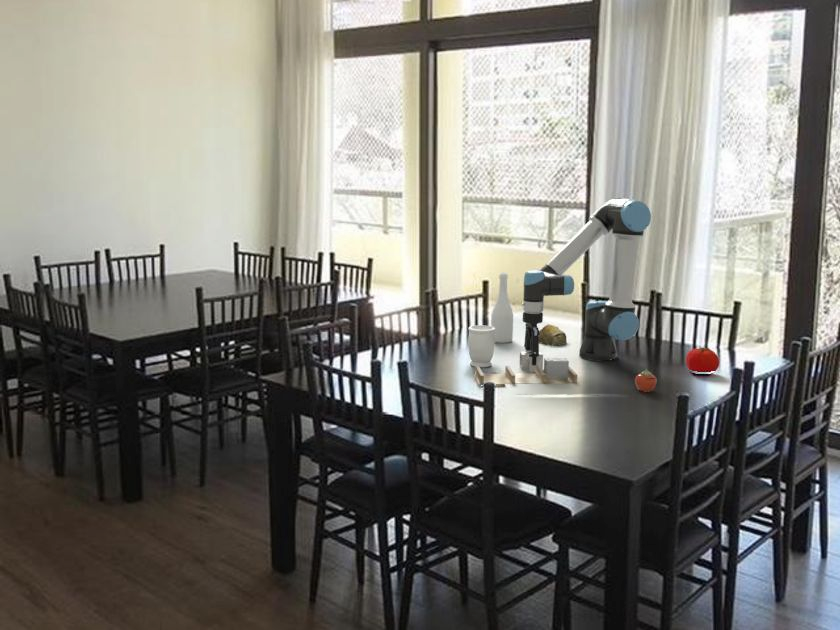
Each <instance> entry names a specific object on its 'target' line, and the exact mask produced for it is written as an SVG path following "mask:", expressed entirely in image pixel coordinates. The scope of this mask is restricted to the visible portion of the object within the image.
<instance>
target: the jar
mask: <svg viewBox="0 0 840 630" xmlns="http://www.w3.org/2000/svg"><path fill="white" fill-rule="evenodd" d="M468 331H469V333H468V338H467V346H468V347H467V348H468V354H469V355H468V356H469V359H470V360H471V362H470V366H472V367H474V368H476V366H479V367H480V368H489V367H491V366H492V362H491V361H492V359H493V356H494V351H495V346H496V342H495V336H494V331H495V328H494V327H492V326H491V325H484V324H483V325H481V324H480V325H479V324H478V325H477V324H476V325H471V326H469V327H468Z"/></svg>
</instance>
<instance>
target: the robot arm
mask: <svg viewBox="0 0 840 630" xmlns="http://www.w3.org/2000/svg"><path fill="white" fill-rule="evenodd" d="M651 218H652V214H651V210H650V208H649V206H648V205H647V204H646V203H645V202H643V201H641V200H638V199H635V198H632V199H630V198H622V197H616V198H612V199H609V200H607V201H605V203H603V205H600V207H598V208H597V210H596V211H595V210H594V212H593V213H592V214H591V215H590V216H589V217H588V221H587V223H585V225H584V226H583V227H581V229H579V231H577V233H575V234H574V236H572V238H571V239H570V240H569V241H568V242H566V244H565V245H564V246H563V247H562V248H560V250H558V251H557V253H555V254H554V255H553V257H552V258H551V259H550V260H549V261H547V263H545V265H543V267H541V268H540V269H539V268H538V269H535V270H527V271H525V273H524V275H523V277H524V278H523V298H522V299H523V302H522V303H521V306H522V310H523V312H522V323H525V333H524V334H525V335H524V350H525V351H524V352H531V355H529V357H530V369H529V370H528V371H529V372H530V373H531V372H532V373H535V366H537V357H538V356H539V352H540V342H539V331H540V329H539V327H538V324H541V323H543V319H544V318H543V317H544V314H543V311H544V303H545V301H544V297H547V296H551V297H552V296H569V295H572V294H573V292H574V289H575V281H574V278H573V277H572V276H571V275H569V274H568V275H566V274H565V273H566V272H567V270H568V269H570V268H571V267H572V266H573V264H575V263H576V262H577V261H578V260H579V259H580V257H582V256H583V255H584V254H585V253H586V252H587V251H588V250H589V249H590V248H591V247H592V246H593V245H594V243H596V242H597V241H598V240H599V239H600V238H601V237H602V236H604V235H608V234H609V232H612V235H613V236H614V238H615V244H614V251H613V263H612V272H611V280H610V282H611V283H610V291H609V299H608V300H594V301H592V300H591V301H588V302H587V303H586V305H585V320H584V321H585V322H584V339H583V341H582V343H581V346H580V348H579V353H578V354H579V357H580V358H581V359H584V358H585V360H589V359H591V360H590V361H596V360H609V361H611V360H610V359H614V358H616V357H617V358H618V351H617V346H616V343H615V340H617V341H628V340H630V339H632V338H633V336H635V335H636V333H637V332H638V329H639V327H640V321H639V320H640V319H639V318H638V316H637V314H635V313H636V305H635V304H634V303H633V294H634V287H635V285H634V284H635V276H636V266H637V257H638V248H639V241H640V239H641V238H643V237H644V231H645V230H646V229H647V228H648V227H649V225H650V224H651V220H652V219H651ZM617 358H616V359H617ZM614 360H615V359H614Z"/></svg>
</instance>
